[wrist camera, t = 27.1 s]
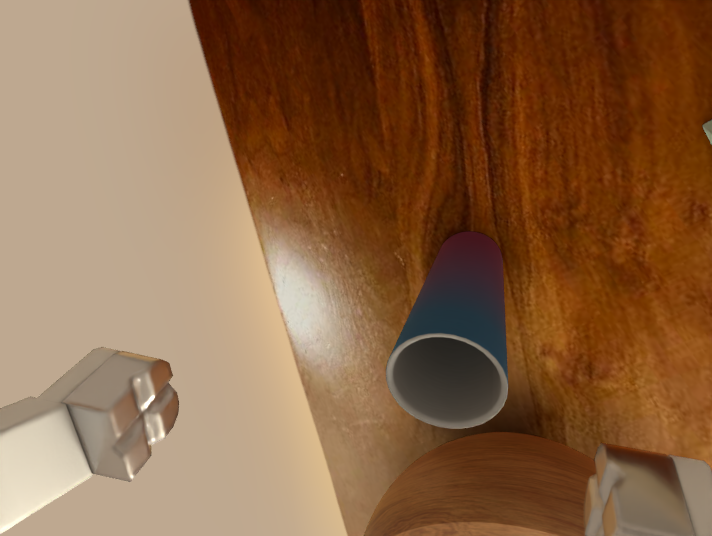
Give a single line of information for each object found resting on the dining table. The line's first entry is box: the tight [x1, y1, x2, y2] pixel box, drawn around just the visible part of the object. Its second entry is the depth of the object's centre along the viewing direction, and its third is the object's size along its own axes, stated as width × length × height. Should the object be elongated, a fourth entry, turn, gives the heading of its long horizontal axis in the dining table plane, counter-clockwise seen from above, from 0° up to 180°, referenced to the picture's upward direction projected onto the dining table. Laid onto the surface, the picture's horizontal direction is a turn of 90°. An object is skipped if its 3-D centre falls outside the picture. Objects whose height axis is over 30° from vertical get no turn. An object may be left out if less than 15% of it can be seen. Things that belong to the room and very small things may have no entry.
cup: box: [386, 231, 508, 429], centre depth 36 cm, size 7×7×15 cm
